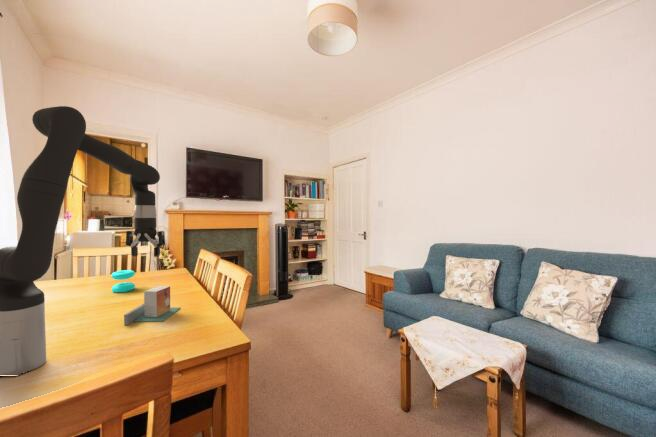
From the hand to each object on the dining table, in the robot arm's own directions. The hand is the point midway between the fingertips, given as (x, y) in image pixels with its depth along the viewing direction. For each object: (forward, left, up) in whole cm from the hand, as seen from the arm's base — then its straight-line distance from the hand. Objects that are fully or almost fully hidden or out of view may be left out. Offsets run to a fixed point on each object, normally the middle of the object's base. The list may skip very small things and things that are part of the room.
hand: (145, 256), depth 113 cm
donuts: (+35, +32, -24) cm, 53 cm away
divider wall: (0, +2, -24) cm, 24 cm away
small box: (0, -5, -24) cm, 24 cm away
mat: (0, -5, -24) cm, 25 cm away
